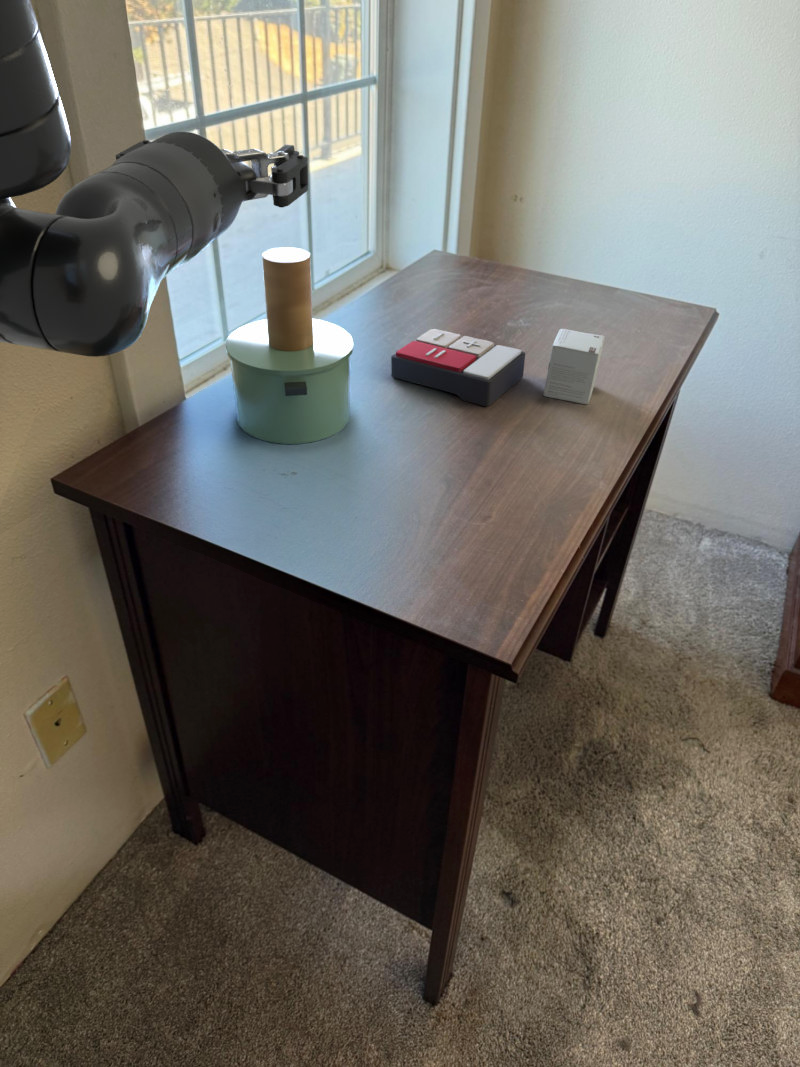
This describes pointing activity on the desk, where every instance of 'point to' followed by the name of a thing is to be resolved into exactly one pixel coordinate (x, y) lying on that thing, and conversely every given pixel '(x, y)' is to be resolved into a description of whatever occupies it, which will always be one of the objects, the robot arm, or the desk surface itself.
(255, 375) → the pot
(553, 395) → the white cardboard box
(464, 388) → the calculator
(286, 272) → the tall wooden cylinder
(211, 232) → the robot arm
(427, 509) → the desk surface
